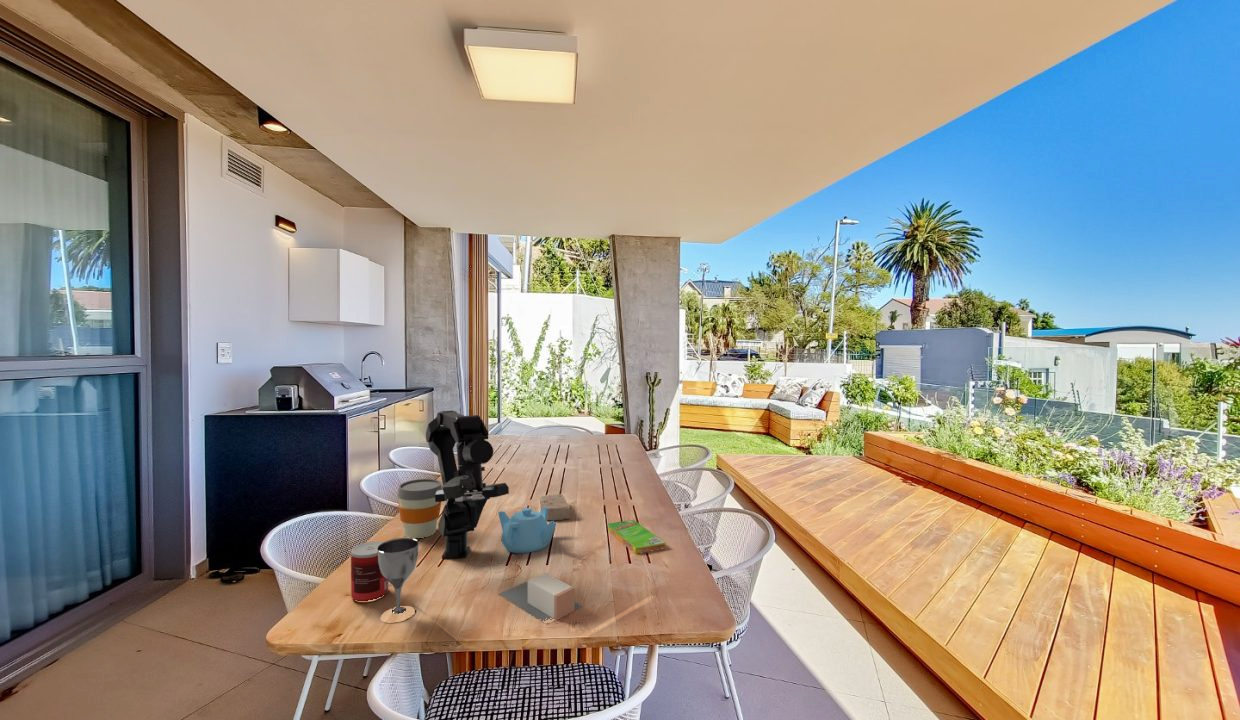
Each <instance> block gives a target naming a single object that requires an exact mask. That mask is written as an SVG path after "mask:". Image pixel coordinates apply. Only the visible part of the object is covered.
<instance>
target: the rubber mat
mask: <svg viewBox="0 0 1240 720" xmlns="http://www.w3.org/2000/svg"><path fill="white" fill-rule="evenodd" d="M498 596H501V597H502V598H503V599H505V600H506V601H508V602H510V603H511V604H513V605H515V606H516V607H517V608H519V609H521V610H522V611H524V612H526V613H527V614H528V615H530V614H531V616H532V617H533V616H534V618H535V619H536V620H538V619H541V621H543V620H544V621H546V620H548V619H550V618H552V617H550V616H549V615H547V614H545V613H544V612H542V611H540V610H539V609H537V608H535V607H534V606H532V605H530V604H529V603H528V580H527V581H525V582H523V583H520V584H518V585H515V586H514V587H511V588H508V589H506V590H504V591H502V592H499V593H498ZM581 608H584V607H583V605H582V604H579V603H577V601H574V611H573V612H575V611H577V610H580V609H581ZM573 612H571V613H570V614H572V613H573ZM546 618H547V619H546ZM545 619H546V620H545ZM552 619H554V618H552ZM552 619H550V620H552ZM541 621H540V622H541Z"/></svg>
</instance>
